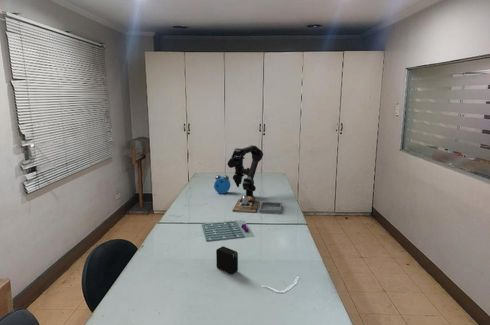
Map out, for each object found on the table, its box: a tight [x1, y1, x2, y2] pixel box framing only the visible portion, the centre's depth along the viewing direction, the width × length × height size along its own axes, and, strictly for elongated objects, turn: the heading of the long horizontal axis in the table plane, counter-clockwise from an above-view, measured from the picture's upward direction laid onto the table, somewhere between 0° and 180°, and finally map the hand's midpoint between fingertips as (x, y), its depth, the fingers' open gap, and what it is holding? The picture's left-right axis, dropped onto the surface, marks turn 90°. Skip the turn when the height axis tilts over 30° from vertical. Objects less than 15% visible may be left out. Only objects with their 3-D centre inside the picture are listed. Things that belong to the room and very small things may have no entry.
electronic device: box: [215, 245, 239, 275], centre depth 155 cm, size 4×10×10 cm, turn 51°
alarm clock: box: [213, 175, 232, 195], centre depth 272 cm, size 13×6×15 cm, turn 86°
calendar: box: [201, 219, 255, 242], centre depth 202 cm, size 27×28×2 cm
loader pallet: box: [232, 195, 260, 214], centre depth 241 cm, size 24×16×4 cm, turn 171°
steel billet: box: [242, 195, 249, 206], centre depth 236 cm, size 4×4×8 cm
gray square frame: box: [258, 201, 283, 214], centre depth 236 cm, size 16×15×2 cm
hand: (239, 185), depth 249 cm, fingers open, 9 cm apart
